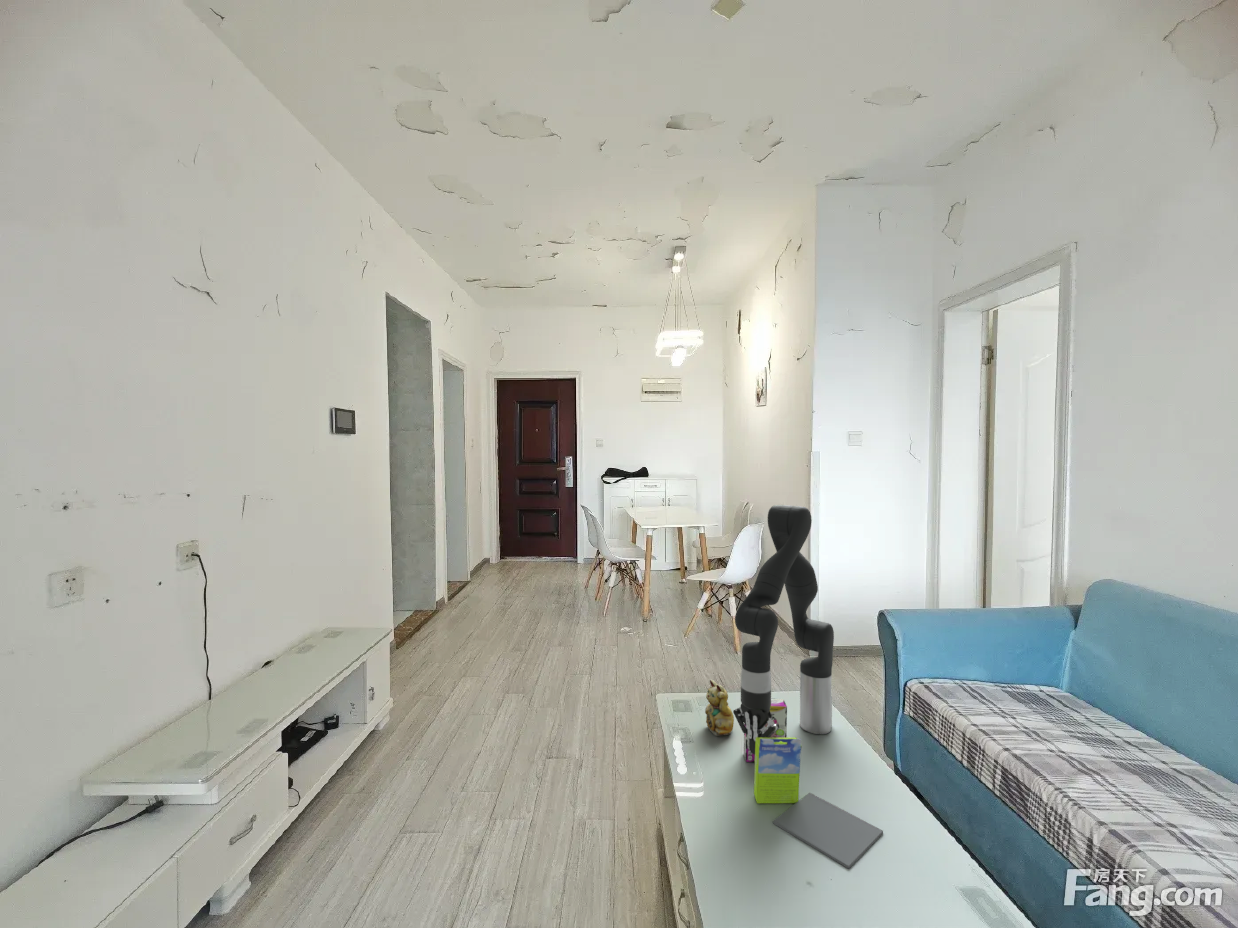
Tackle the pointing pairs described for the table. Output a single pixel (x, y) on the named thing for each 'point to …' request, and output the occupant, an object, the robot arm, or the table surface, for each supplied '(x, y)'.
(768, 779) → the box
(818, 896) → the table surface
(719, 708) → the decorative figurine
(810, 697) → the robot arm
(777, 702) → the candy bar box
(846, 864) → the mat
